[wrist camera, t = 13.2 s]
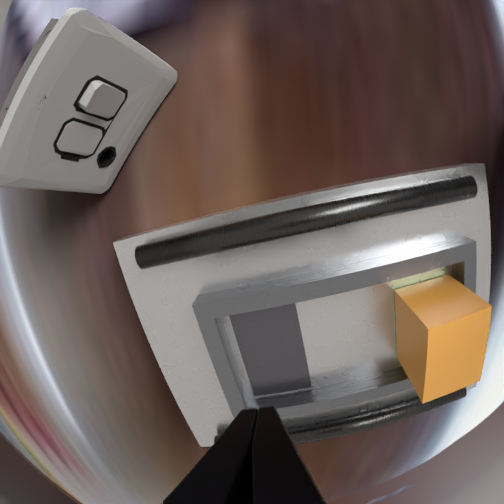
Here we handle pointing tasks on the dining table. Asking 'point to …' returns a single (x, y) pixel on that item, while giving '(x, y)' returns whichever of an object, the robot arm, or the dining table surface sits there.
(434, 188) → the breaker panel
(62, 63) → the electrical switch
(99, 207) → the dining table surface
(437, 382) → the orange cube block
